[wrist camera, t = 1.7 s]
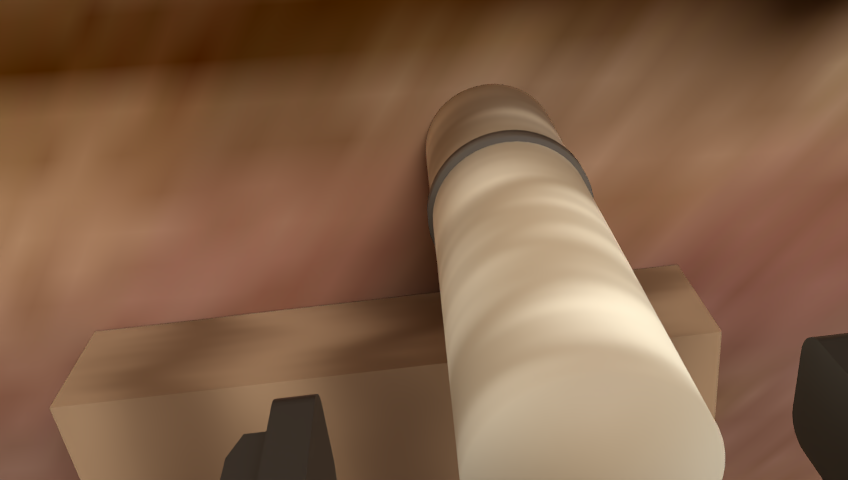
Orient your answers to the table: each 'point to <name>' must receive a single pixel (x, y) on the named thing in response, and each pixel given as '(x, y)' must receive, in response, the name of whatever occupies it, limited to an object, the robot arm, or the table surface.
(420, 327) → the walnut board
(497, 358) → the birch peg
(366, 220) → the table surface
